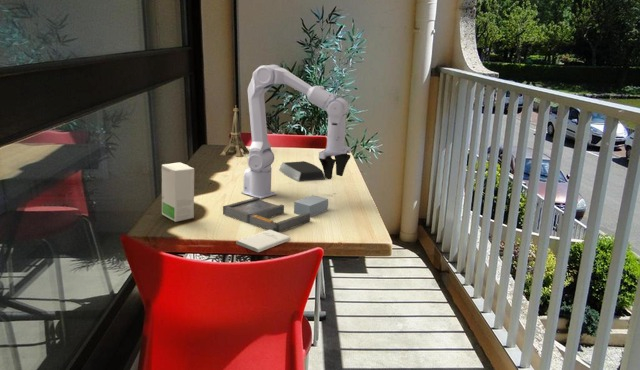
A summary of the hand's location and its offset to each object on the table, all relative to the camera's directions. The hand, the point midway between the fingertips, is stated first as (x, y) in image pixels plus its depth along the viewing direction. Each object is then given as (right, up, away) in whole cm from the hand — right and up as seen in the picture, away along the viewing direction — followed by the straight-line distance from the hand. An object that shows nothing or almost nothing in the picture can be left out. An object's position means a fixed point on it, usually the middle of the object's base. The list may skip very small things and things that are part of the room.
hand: (333, 177), depth 176 cm
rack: (-20, -12, -13) cm, 27 cm away
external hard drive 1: (-20, -19, -32) cm, 42 cm away
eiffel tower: (-43, +11, +70) cm, 83 cm away
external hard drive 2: (-12, +1, +39) cm, 41 cm away
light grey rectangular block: (-7, -11, -6) cm, 15 cm away
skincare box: (-47, -12, -16) cm, 51 cm away
